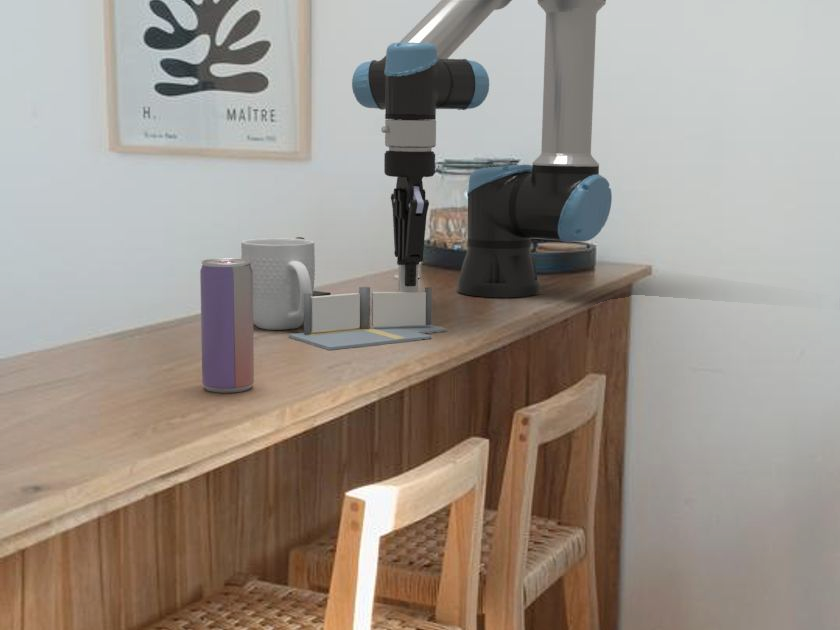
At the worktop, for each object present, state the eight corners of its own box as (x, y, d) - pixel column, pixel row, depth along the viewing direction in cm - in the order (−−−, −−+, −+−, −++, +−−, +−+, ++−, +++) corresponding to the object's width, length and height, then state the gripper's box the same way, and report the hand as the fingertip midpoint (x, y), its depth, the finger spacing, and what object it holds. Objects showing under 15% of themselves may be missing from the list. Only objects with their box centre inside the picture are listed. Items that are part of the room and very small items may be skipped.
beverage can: (209, 395, 138) (207, 264, 135) (197, 384, 143) (194, 259, 141) (260, 391, 140) (258, 262, 138) (246, 381, 145) (244, 257, 143)
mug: (340, 332, 179) (340, 245, 177) (273, 339, 173) (273, 248, 171) (293, 318, 191) (293, 236, 189) (229, 324, 185) (228, 239, 183)
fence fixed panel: (366, 330, 182) (366, 286, 181) (371, 331, 180) (372, 287, 179) (301, 336, 175) (301, 291, 174) (307, 338, 174) (307, 293, 173)
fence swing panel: (430, 323, 183) (430, 287, 182) (432, 325, 182) (432, 288, 181) (371, 325, 181) (371, 288, 180) (373, 326, 180) (373, 289, 179)
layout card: (416, 323, 188) (416, 320, 188) (461, 335, 178) (461, 332, 178) (288, 337, 175) (288, 334, 175) (329, 350, 165) (329, 346, 165)
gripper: (375, 147, 184) (374, 300, 188) (396, 151, 171) (394, 314, 176) (422, 147, 186) (420, 299, 190) (446, 151, 173) (443, 313, 178)
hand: (407, 306), depth 183 cm, fingers closed
